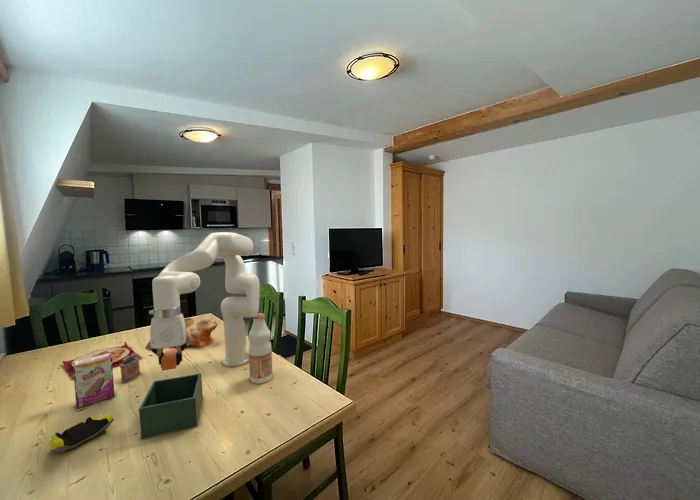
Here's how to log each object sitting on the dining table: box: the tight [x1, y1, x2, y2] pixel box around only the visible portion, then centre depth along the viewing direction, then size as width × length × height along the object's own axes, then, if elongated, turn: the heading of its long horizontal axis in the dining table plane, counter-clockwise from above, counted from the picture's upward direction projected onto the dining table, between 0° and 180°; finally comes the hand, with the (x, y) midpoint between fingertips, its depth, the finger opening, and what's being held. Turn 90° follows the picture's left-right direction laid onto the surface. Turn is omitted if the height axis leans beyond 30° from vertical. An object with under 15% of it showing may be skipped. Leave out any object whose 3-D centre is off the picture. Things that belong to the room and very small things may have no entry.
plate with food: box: [61, 341, 143, 379], centre depth 146 cm, size 24×26×3 cm
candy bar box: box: [73, 353, 116, 410], centre depth 113 cm, size 11×5×16 cm, turn 135°
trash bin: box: [138, 372, 204, 440], centre depth 103 cm, size 16×18×10 cm
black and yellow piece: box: [49, 414, 115, 454], centre depth 92 cm, size 15×6×10 cm
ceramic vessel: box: [174, 315, 219, 349], centre depth 167 cm, size 14×26×15 cm, turn 89°
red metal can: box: [119, 352, 141, 384], centre depth 130 cm, size 8×3×10 cm, turn 168°
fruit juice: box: [247, 312, 274, 385], centre depth 127 cm, size 9×9×28 cm
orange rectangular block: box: [160, 348, 178, 372], centre depth 102 cm, size 4×7×4 cm, turn 21°
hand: (171, 364), depth 102 cm, fingers closed on orange rectangular block, 4 cm apart
